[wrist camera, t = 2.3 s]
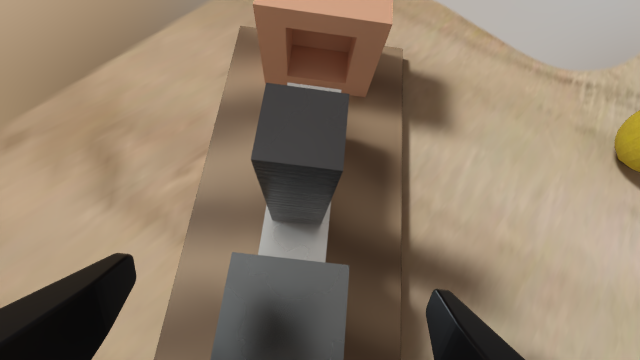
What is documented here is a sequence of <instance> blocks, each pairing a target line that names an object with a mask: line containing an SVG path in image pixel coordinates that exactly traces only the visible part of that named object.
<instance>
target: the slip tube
mask: <svg viewBox="0 0 640 360" xmlns="http://www.w3.org/2000/svg"><path fill="white" fill-rule="evenodd" d="M348 105H349V94H347V93H341V90H340V89H332V88H325V87H318V86H310V85H303V84H295V83H288V82H287V85H280V84H273V83H266V85H265V90H264V95H263V100H262V105H261V110H260V115H259V120H258V125H257V130H256V135H255V140H254V145H253V150H252V155H251V162H252V165H253V167H254V170H255V173H256V176H257V179H258V182H259V184H260V187H261V190H262V193H263V196H264V198H265V201H266V204H267V205H266V211H265V217H264V222H263V228H262V234H261V240H260V246H259V252H258V255H263V256H272V257H281V258H290V259H299V260H307V261H316V262H325V260H326V250H327V239H328V228H329V218H330V207H331V199H332V197H333V194H334V192H335V190H336V187H337V185H338V182H339V180H340V177H341V175H342V172H343V167H344V154H345V142H346V130H347V118H348Z"/></svg>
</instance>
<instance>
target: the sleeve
mask: <svg viewBox="0 0 640 360" xmlns="http://www.w3.org/2000/svg"><path fill="white" fill-rule="evenodd" d="M349 267H350V265H343V264H334V263H325V262H316V261H307V260H299V259H290V258H281V257H272V256H263V255H254V254H246V253H237V252H232V254H231V259H230V264H229V269H228V274H227V279H226V284H225V289H224V294H223V299H222V304H221V309H220V314H219V319H218V324H217V329H216V334H215V339H214V343H213V348H212V353H211V358H210V360H343V358H344V343H345V328H346V313H347V297H348V282H349Z"/></svg>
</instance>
